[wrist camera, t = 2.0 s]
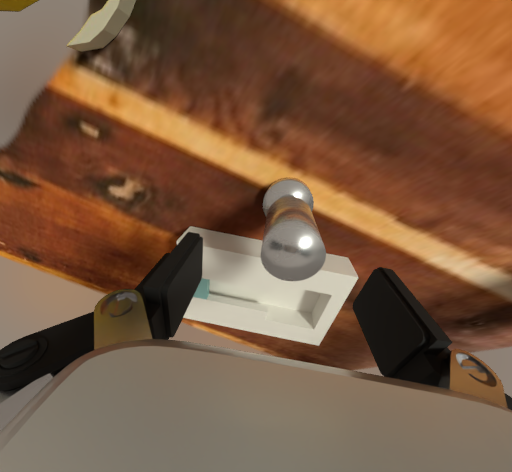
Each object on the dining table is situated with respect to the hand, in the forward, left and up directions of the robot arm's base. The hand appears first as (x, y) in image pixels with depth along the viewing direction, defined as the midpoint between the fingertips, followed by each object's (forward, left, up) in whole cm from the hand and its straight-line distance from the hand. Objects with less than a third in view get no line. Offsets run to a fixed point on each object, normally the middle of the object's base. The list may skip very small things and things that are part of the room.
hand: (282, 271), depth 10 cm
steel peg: (-1, 0, -12) cm, 12 cm away
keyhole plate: (0, +12, -12) cm, 17 cm away
